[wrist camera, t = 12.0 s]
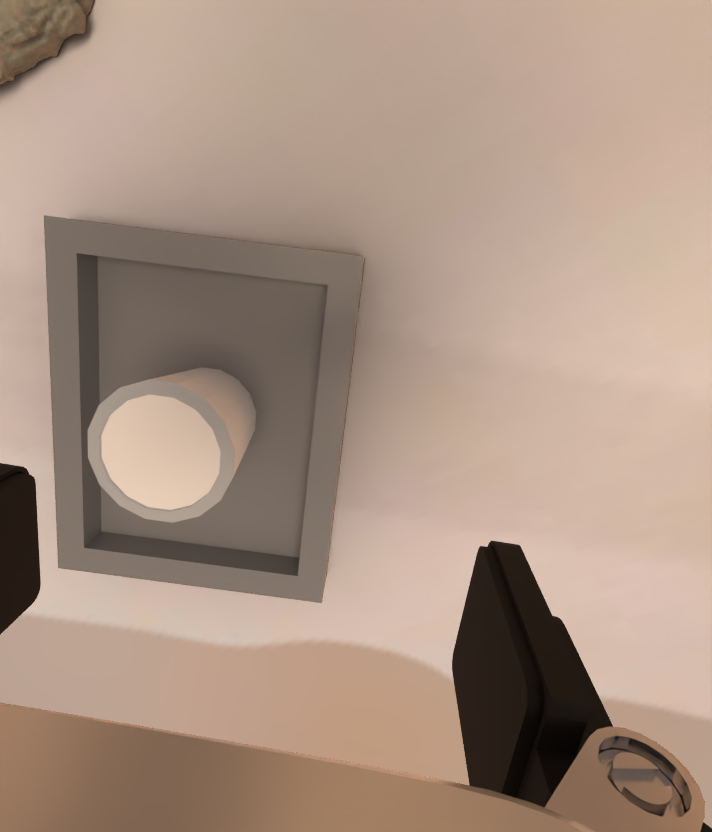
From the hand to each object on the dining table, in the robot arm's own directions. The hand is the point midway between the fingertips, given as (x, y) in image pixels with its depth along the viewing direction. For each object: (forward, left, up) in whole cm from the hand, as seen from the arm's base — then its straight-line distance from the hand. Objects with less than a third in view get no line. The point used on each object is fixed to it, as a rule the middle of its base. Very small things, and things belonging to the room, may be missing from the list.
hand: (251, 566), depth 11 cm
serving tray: (+3, -7, -20) cm, 22 cm away
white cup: (+3, -7, -19) cm, 21 cm away
